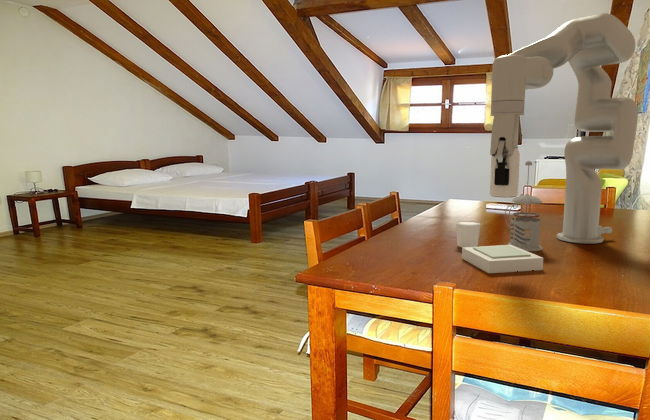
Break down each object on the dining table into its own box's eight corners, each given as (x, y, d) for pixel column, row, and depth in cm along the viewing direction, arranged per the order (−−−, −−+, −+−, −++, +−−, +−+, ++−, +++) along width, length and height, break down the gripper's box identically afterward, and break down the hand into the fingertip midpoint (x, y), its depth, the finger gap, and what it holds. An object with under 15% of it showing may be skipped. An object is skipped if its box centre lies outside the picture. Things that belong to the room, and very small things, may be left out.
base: (510, 255, 123) (511, 243, 122) (542, 269, 109) (543, 256, 109) (461, 258, 121) (462, 245, 120) (488, 273, 107) (489, 259, 107)
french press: (527, 252, 126) (532, 162, 122) (494, 244, 136) (497, 160, 132) (550, 248, 130) (556, 161, 126) (516, 240, 140) (521, 159, 137)
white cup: (481, 249, 131) (482, 225, 130) (456, 248, 132) (457, 224, 131) (478, 243, 137) (478, 221, 136) (454, 243, 139) (455, 220, 138)
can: (485, 194, 116) (487, 147, 114) (509, 194, 116) (512, 146, 114) (497, 198, 109) (499, 147, 107) (522, 197, 110) (525, 147, 108)
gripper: (497, 111, 118) (494, 180, 121) (483, 108, 104) (480, 186, 107) (529, 110, 115) (525, 181, 117) (518, 106, 100) (514, 188, 103)
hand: (504, 183), depth 112 cm, fingers closed on can, 6 cm apart
